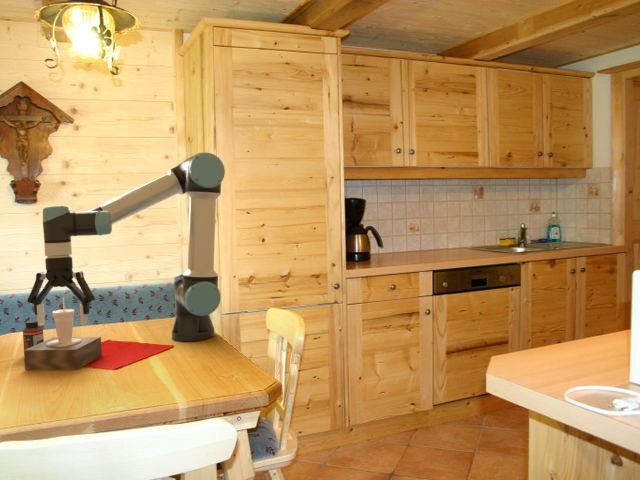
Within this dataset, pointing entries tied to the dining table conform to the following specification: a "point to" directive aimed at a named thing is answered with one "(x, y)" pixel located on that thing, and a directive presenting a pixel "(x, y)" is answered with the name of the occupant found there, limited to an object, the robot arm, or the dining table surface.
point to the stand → (62, 354)
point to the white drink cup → (64, 323)
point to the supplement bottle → (32, 334)
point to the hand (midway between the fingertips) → (62, 325)
